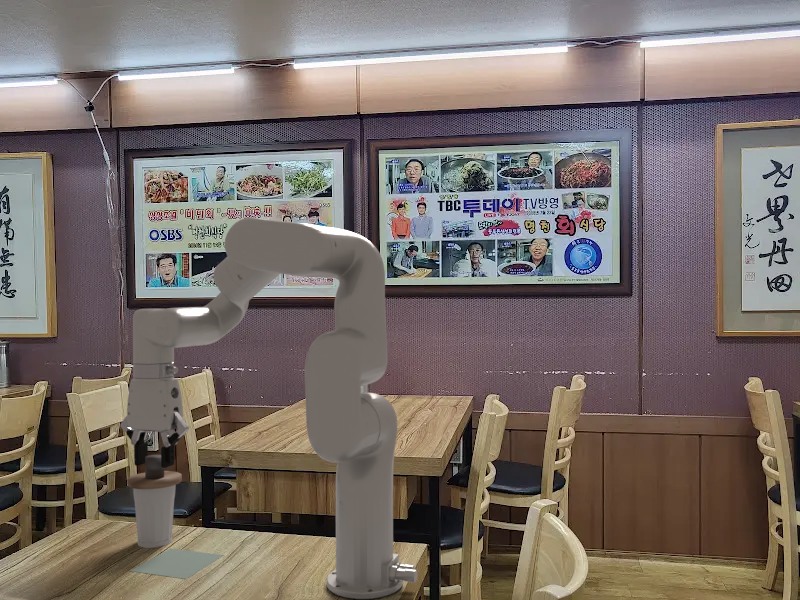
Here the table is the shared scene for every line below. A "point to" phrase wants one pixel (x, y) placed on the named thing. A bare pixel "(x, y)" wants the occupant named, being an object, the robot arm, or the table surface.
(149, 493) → the cup
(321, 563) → the table surface
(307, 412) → the robot arm
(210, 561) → the mat
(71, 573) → the table surface
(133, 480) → the lid
